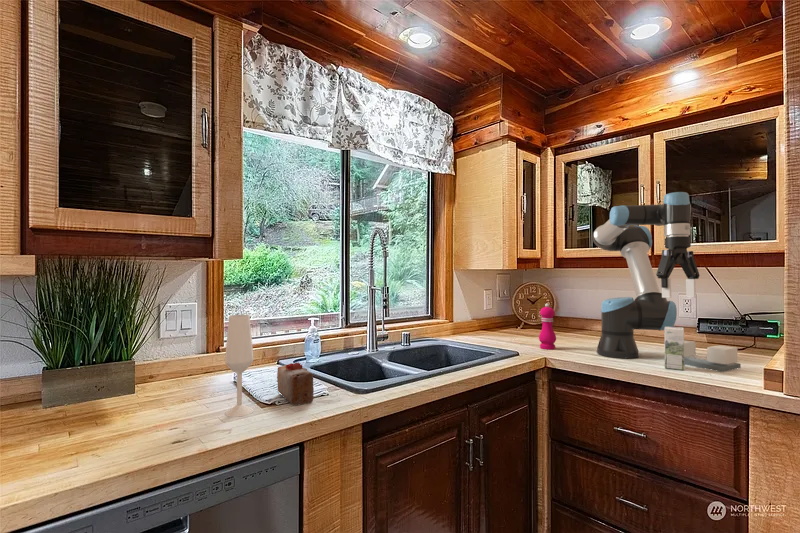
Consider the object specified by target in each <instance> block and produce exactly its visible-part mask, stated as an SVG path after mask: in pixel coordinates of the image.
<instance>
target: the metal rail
mask: <svg viewBox="0 0 800 533" xmlns="http://www.w3.org/2000/svg"><path fill="white" fill-rule="evenodd" d="M684 358H685V359H690V360H696V361H701V362H707V363H712V364H718V365H723V366H731V365H735V363H736V362H735V363H730V364H720V363H715V362H709V361H707V356H702V355H701V356H700V355H692V356H686V357H684Z"/></svg>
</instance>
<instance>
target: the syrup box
mask: <svg viewBox="0 0 800 533" xmlns="http://www.w3.org/2000/svg"><path fill="white" fill-rule="evenodd" d="M684 340H685V328H684V327H682V326H673V327H668V326H665V330H664V369H668V370H677V371H685V364H684Z"/></svg>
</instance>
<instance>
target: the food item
mask: <svg viewBox="0 0 800 533" xmlns="http://www.w3.org/2000/svg"><path fill="white" fill-rule="evenodd" d="M303 363H304V361H303ZM303 363H302V364H301V363H300V362H298V361H296V362H294V363H289V364H284V365H281V366H278V367H277V371H276V372H277V374H276V375H277V376H276V379H277V380H276V382H277V392H278V391H279V392H280V393H281V394H282V395H283V396H284V397H285V398H286V399H287V400H286V399H285V398H284V397H283V396H282V397H283V398H284V399H285V400H286V401H287V402H289V403H290V404H291V405H292V406H301V405H306V404H312V403H313V402H314V399H315V398H314V397H315V396H314V374H313V373H311V372H310V371H309V370H308V369H307V368H305V367H303Z"/></svg>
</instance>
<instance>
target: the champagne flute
mask: <svg viewBox="0 0 800 533" xmlns="http://www.w3.org/2000/svg"><path fill="white" fill-rule="evenodd" d="M250 317H251V316H250V314H234V315H229V316H228V322H227V323H228V324H227V335H226V346H225V355H224V357H225V358H224V362H225V365H226V366H227V367H228V368H229V369H230V370H231V371H232V372H233V373H236V405H234V406H233V407H231V408H230V409H228V410H227V411H226V412H225V413H224V415H225V416H226V417H230V418H237V417H243V416H244V417H245V416H248V415H251V414H252V413H253V412H254V411H255V410H254V409H253V408H251V407H250V406H247V405H245V404H243V373H244V372H245V371H247V369H249V368H250V366H252V364H253V362H254V359H255V358H254V347H253V339H252V338H253V337H252V329H251V328H252V326H251V318H250Z"/></svg>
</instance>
